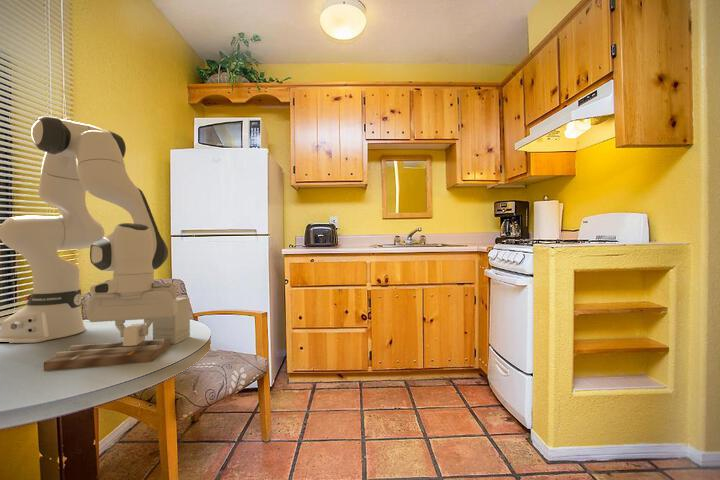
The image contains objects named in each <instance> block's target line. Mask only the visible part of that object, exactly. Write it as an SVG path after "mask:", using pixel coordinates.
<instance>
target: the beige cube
mask: <svg viewBox="0 0 720 480" xmlns="http://www.w3.org/2000/svg"><path fill="white" fill-rule="evenodd" d="M145 325H146V323H144V322H143V323H133V324H130V325H129V326H127V327H126V326H125V327H126V328H124V329H123V337H122V342H123V344H122V345H121V347H132V346H146V345H147V344H148V340H149V339H146V336H139V334H140V333H139V330H140V329H142V328H144V327H145Z"/></svg>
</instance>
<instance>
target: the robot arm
mask: <svg viewBox="0 0 720 480" xmlns="http://www.w3.org/2000/svg"><path fill="white" fill-rule="evenodd" d="M31 137H32V142H33V145H35V147H36V148H37V149H38V150H40V151H43V152H45V154H44V156H43V159H42V164H41V170H40V177H39V184H38V191H37V195H38V197H39V198H40V200H42V201H43V202H44V203H46V204H47V205H50V206H52V207H54V208H56V209H58V215H57V216H49V215H48V216H46V215H21V216H20V215H19V216H11V217H8V218H6V219H5V220H4V221H3V222H2V223H1V224H0V241H1V242H2V243H3V244H4V245H5V246H6V247H7V248H10V249H11V250H13V251H14V252H17V253H18V254H20V255H21V256H22V257H23V258H24V259H25V260H26V262H27V264H28V265H29V267H30V270H31V275H32V283H33V284H32V286H33V287H32V289H33V291H32V293H30V294H29V295H26V296H23V297H22V298H23V299H22V301H27V302H26V305H25V306H24V307H22V308H20V309H19V310H18V311H16V312H15V313H13V314H12V315H10V316H8V317H7V318H5V319H4V320H3V321H2V322H1V326H0V342H9V343H8V344H15V343H16V344H21V343H23V344H24V343H26V344H27V343H31V344H32V343H41V342H45V341H49V340H54V339H59V338H65V337H70V336H73V335H77V334H80V333H82V332H84V331H87V328H86V326H85V323H84V321H83V319H84V318H83V317H82V316H83V315H82V310H81V305H82V290H81V289H80V268H79V267H78V265H76V264H75V263H74V262H71V261H68V260H66V259H64V258H61V257H60V256H59V254H58V250H82V249H89V258H90V263H91V264H92V266H94V267H95V268H96V269H98V270H100V271H105V272H113V274H112V275H113V276H112V279H108V280H105V281H103V282H99V283H97V284H93V285H90V287H89V292H90V294H91V295H90V296H89V298H88V300H87V306H86V319H87V321H89V323H100V322H101V323H102V322H114V326H115V327H116V329H118V331H119V335H120V336H119V337H120V338H123V329H124V328H126V326H125V323H126V321H134V320H135V321H136V320H143V323H145V327H144V328H142V329H140V330H139V333H140V334H139V336H145V337H147V336H148V335H149V328H150V327H151V325H153V319H158V318H171V317H173V316H175V315H176V313H177V312H178V306H177V300H176V298H178V288H177V286H176V285H174V284H172V283H170V282H166V283H163V282H162V283H156V282H155V273H154V272H155V271H154V270H157V269H159V268H160V267H161V266H162V265H163V264H164V263H165V262H166V261H167V259H168V257H169V249H168V246H167V244H166V242H165V240H164V239H163V237H162V235H161V234H160V231H159V229H158V225H157V222H156V221H155V218H154V216H153V213H152V211H151V207H150V206H149V203H148V201H147V198H146V196H145V194H144V192H143V191H142V190H141V189H140V188H139V187H138V186H136V184H135V183H134V182H133V181H132V180H131V178H130V177H129V175H128V173H127V170H126V164H125V160H124V157H125V155H126V149H127V148H126V147H127V146H126V143H125V140H124V139H123V137H122V136H121V135H120V134H117V133H115V132H113V131H111V130H105V129H102V128H100V127H97V126H94V125H91V124H87V123H81V122H76V121H73V120H68V119H60V118H58V117H56V116H45V115H44V116H43V115H42V116H40V117H38V118H37V119H35V120H34V122H33V125H32V127H31ZM86 191H87V193H89V194H90V195H92V196H94V197H95V198H98V199H100V200H102V201H106V202H109V203H111V204H113V205H116V206H118V207H120V208H122V209H124V211H126V212H128V213H129V215H130V217H131V219H132V221H133V223H131V222H129V223H126V222H123V223H119V224H116V225H115V227H114V230H113V231H112V232H111V233H109V234H108V235H105V229H104V227H103V225H102V224H101V223H100V222H99V221H98V220H97V219H95V218H94V217H93V216H92V215H91V213H90V212H89V210H88V208H87V204H86Z"/></svg>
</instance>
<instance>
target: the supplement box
mask: <svg viewBox="0 0 720 480" xmlns="http://www.w3.org/2000/svg"><path fill="white" fill-rule="evenodd" d="M176 300H177V306H178V312H177V313H176V315H175V316H173V317H171V318H158V319H153V322H152V340H158V339H164V340H167V339H170V345H175V344H176V345H177V344H178V343H180V341H181V342H182V340H183V341H185V340H187V339H189V338H190V337H191V324H190V322H191V319H190V315H191V314H190V313H191V312H190V297H176ZM186 338H187V339H186ZM184 339H185V340H184Z"/></svg>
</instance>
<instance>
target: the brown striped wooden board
mask: <svg viewBox="0 0 720 480" xmlns="http://www.w3.org/2000/svg"><path fill="white" fill-rule="evenodd" d="M147 340H148V344H147V345H146V346H132V347H121V345H122V344H123V341H117V342H105V343H104V342H101V343H89V344H88V343H87V344H75V345H70V346H69V347H68V350H65V351H57V352H55V355H54V356H53V357H51V358H49V359H47V360H45V361H44V362H43V371H53V370H54V371H56V370H65V369H66V370H67V369H68V370H69V369H76V368H77V369H78V368H79V369H80V368H90V367H99V366H100V367H102V366H113V365H125V364H128V365H129V364H137V363H147V362H148V363H149V362H150V363H151V362H154V361H155V360H156V359H157V358H158V357H159V356H160V355H162V354H163V353H164V352H165V351H166V350H168V349H169V348H170V347H171V344H170V339H167V340H164V339H158V340H153V339H147Z"/></svg>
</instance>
